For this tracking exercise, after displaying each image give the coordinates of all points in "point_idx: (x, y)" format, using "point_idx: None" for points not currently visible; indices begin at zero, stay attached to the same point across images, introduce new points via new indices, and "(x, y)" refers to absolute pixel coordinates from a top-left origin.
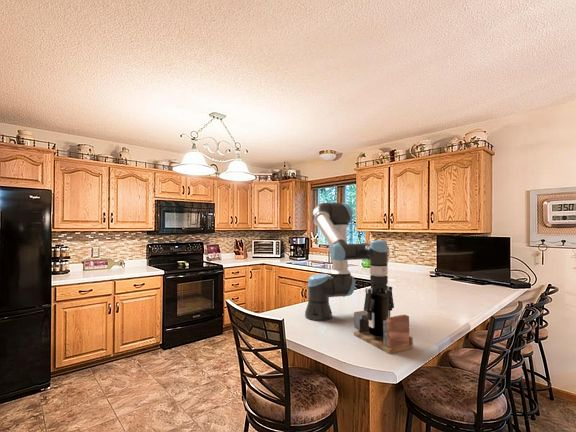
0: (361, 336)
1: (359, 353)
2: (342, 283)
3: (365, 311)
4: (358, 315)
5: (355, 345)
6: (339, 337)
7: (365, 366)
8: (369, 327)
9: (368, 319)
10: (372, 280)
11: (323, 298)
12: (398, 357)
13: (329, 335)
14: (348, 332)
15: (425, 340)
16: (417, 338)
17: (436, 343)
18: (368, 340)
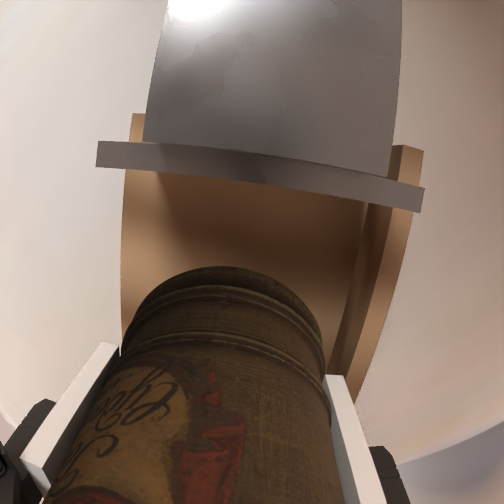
0: (123, 222)
1: (18, 351)
2: None
3: (397, 16)
4: (165, 51)
5: (39, 274)
6: (35, 109)
7: (5, 415)
8: (134, 317)
9: (45, 406)
10: None
11: None
12: None
13: (18, 54)
14: (156, 46)
15: (444, 419)
16: (449, 391)
17: (434, 451)
18: (123, 305)
